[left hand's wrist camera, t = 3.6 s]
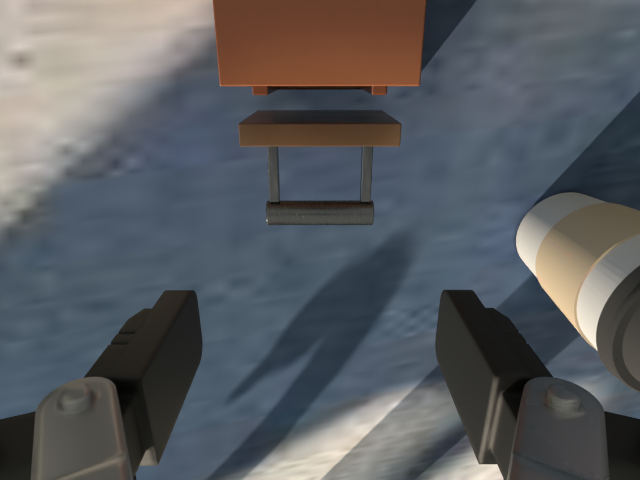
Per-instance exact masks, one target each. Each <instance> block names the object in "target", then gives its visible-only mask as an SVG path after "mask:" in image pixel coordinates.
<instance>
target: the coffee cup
mask: <svg viewBox="0 0 640 480" xmlns="http://www.w3.org/2000/svg"><path fill="white" fill-rule="evenodd" d="M516 246H517V250H518V253H519V255H520V257H521V259H522V260H523V261H524V263H525V264H526V265H527V266H528V267H529V269H530V270H531V271H532V272H533V273H534V275H535V276H536V277H537V278H538V281H539V283H540V285H541V286H542V288H543V289H544V290H545V291H546V292H547V294H548V295H549V296H550V297H551V299H552V300H553V301H554V302H555V304H556V305H557V306H558V307H559V308H560V310H561V311H562V312H563V313H564V315H565V316H566V317H567V318H568V319H569V321H570V322H571V323H572V324H573V326H574V327H575V328H576V329H577V331H578V332H579V333H580V334H581V335H582V337H583V338H584V339H585V340H586V341H587V342H588V343H589V344H590V345H591V346H592V347H594V348H595V349H596V350H597V351H598V354H599V356H600V359H601V361H602V363H603V364H604V366H605V367H606V368H607V369H608V371H609V372H610V373H611V374H612V375H614V376H615V377H616V378H618V379H619V380H621V381H622V382H623V383H624V384H626V385H627V386H628V387H630V388H632V389H633V390H635V391H637V392H640V211H639V210H636V209H633V208H630V207H627V206H623V205H620V204H615V203H608V202H605V201H602V200H599V199H596V198H593V197H590V196H587V195H584V194H581V193H574V192H567V193H560V194H556V195H553V196H550V197H548V198H546V199H544V200H542V201H541V202H539V203H538V204H537V205H535V206H534V207H533V208H532V209H531V210H530V211H529V212H528V213H527V214H526V216H525V217H524V218H523V220H522V222H521V224H520V226H519V229H518V232H517V237H516Z"/></svg>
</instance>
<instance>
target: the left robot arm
mask: <svg viewBox="0 0 640 480" xmlns="http://www.w3.org/2000/svg"><path fill="white" fill-rule="evenodd" d="M435 345H436V356H437V360H438V363H439V366H440V368H441V371H442V373H443V376H444V378H445V381H446V383H447V386H448V388H449V391H450V393H451V396H452V398H453V401H454V403H455V406H456V408H457V411H458V413H459V416H460V418H461V421H462V423H463V426H464V428H465V431H466V433H467V436H468V438H469V440H470V443H471V445H472V448H473V450H474V453H475V455H476V458H477V460H478V463H479V464H498V467H499V469H500V471H501V473H502V476H503V478H504V480H640V419H637V418H632V417H628V416H623V415H619V414H614V413H610V412H606V411H604V409H603V407H602V405H601V404H600V402H599V401H598V400H597V399H596V398H595V397H594V396H593V395H592V394H591V393H590V392H588V391H587V390H585V389H584V388H582V387H580V386H578V385H576V384H574V383H572V382H569V381H566V380H563V379H559V378H553V376H552V375H551V374H550V372H549V371H548V370H547V368H546V367H545V366H544V364H543V363H542V362H541V360H540V359H539V358H538V356H537V355H536V354H535V352H534V351H533V350H532V348H531V347H530V346H529V344H526V341H525V339H524V338H523V337H522V335H521V334H519V333H518V330H517V329H516V327H515V326H514V325H513V323H512V322H511V321H510V319H509V318H507V317H506V316H504V315H503V314H501V313H500V312H498V311H497V310H495V309H494V308H485V307H484V306H483V304H482V303H481V301H480V300H479V298H478V297H477V295H476V294H475V293H474V291H473V290H443V292H442V294H441V298H440V306H439V315H438V323H437V332H436V342H435ZM201 355H202V334H201V325H200V317H199V309H198V301H197V295H196V293H195V291H193V290H167V291H164V293H163V294H162V295H161V297H160V298H159V300H158V301H157V302H156V304H155V305H154V307H153V308H152V309H143V310H142V311H140V312H139V313H137V314H136V315H134V316H133V317H131V318H130V319H128V320H127V322H126V323H125V324H124V326H123V327H122V328H121V330H120V331H119V334H117V335H116V336H115V337H114V339H113V340H112V341H111V345H108V347H107V348H106V349H105V351H104V352H103V353H102V354H101V356H100V357H99V358H98V360H97V361H96V362H95V364H94V365H93V366H92V368H91V369H90V370H89V371H88V373H87V374H86V375H85V377H84V378H81V379H77V380H74V381H71V382H68V383H66V384H64V385H62V386H60V387H58V388H56V389H55V390H53V391H52V392H50V393H49V394H48V395H47V396H46V397H45V398H44V399H43V400H42V401H41V402H40V404H39V405H38V407H37V409H36V411H35V412H31V413H27V414H23V415H18V416H14V417H9V418H5V419H0V480H136V475H135V474H136V472H137V469H138V467H139V465H158V464H159V461H160V459H161V457H162V454H163V452H164V449H165V447H166V444H167V442H168V439H169V437H170V435H171V432H172V430H173V427H174V425H175V422H176V420H177V417H178V415H179V413H180V410H181V408H182V405H183V403H184V400H185V398H186V395H187V393H188V390H189V388H190V386H191V383H192V381H193V378H194V376H195V373H196V371H197V368H198V366H199V363H200V360H201Z"/></svg>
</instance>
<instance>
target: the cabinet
mask: <svg viewBox="0 0 640 480" xmlns="http://www.w3.org/2000/svg"><path fill="white" fill-rule="evenodd" d="M426 3H427V0H213V8H214V20H215V32H216V44H217V56H218V68H219V80H220V86H419V85H420V77H421V65H422V53H423V40H424V28H425V16H426Z"/></svg>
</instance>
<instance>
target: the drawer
mask: <svg viewBox="0 0 640 480" xmlns="http://www.w3.org/2000/svg"><path fill="white" fill-rule="evenodd" d="M252 87H253V95H268V94H270V93H272V92H274V91H276V90H278V89H363V90H365V91H367V92H369V93H371V94H373V95H386V94H387V86H252ZM238 126H239V141H240V146H267V158H268V179H269V201H267V204H266V221H267V224H268V225H372V224H373V221H374V204H373V201H371V178H372V156H373V146H400V139H401V123H400V122H398V121H397V120H395V119H394V118H392V117H391V116H389V115H388V114H386V113H385V112H384V111H382V110H278V111H256V112H255V113H254V114H252V115H251V116H249V117H248V118H246V119H245V120H243V121H242V122H241V123H239V124H238ZM278 146H362V157H361V186H360V201H280V187H279V160H278Z"/></svg>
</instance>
